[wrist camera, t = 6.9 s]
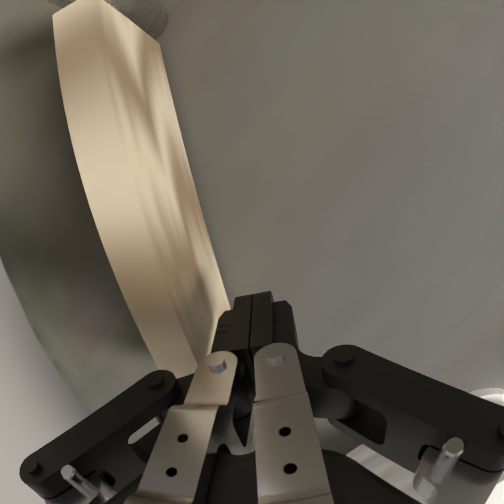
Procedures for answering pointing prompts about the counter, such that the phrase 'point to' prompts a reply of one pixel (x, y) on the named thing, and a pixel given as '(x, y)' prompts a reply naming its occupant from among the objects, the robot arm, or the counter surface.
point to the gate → (139, 181)
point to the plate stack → (499, 502)
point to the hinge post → (137, 13)
